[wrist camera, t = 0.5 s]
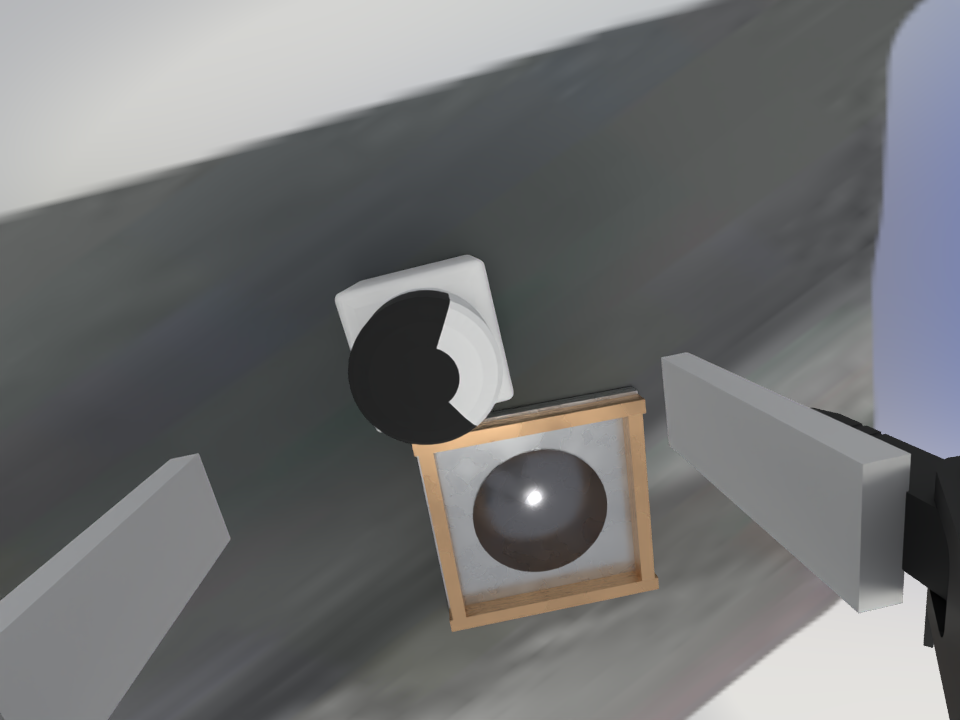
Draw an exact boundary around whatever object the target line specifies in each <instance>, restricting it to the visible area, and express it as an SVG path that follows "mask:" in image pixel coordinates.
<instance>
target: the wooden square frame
mask: <svg viewBox="0 0 960 720" xmlns="http://www.w3.org/2000/svg"><path fill="white" fill-rule="evenodd" d="M644 413H646V407H645V399H644V398H642V397H641V396H640V395H638V392H637V390H636V389H635V388H633V387H632V386H631V387H625V388H620V389H615V390H609V391H604V392H598V393H593V394H588V395H582V396H577V397H571V398H566V399H561V400H555V401H550V402H544V403H539V404H534V405H528V406H523V407H517V408H512V409H507V410H501V411H496V412H490V413H489V414H488V415H487V417H486V418H485V419H484V420H483V421H482V422H481V423H480V424H479V425H478V426H477V427H475V428H474V429H473V430H471V431H470V432H469V433H467V434H465V435H463V436H462V437H459V438H457V439H455V440H452V441H449V442H445V443H441V444H433V445H418V444H412V446H413V451H414V456H417V459H418V464H419V469H420V473H421V478H422V483H423V488H424V492H425V497H426V502H427V506H428V511H429V516H430V520H431V525H432V530H433V535H434V539H435V544H436V549H437V553H438V558H439V563H440V568H441V572H442V577H443V582H444V586H445V591H446V596H447V601H448V605H449V614H450V624H451V629H452V632H454V631H459V630H463V629H468V628H473V627H478V626H483V625H487V624H492V623H497V622H502V621H507V620H511V619H516V618H521V617H526V616H531V615H535V614H540V613H545V612H550V611H555V610H559V609H564V608H569V607H574V606H578V605H583V604H588V603H593V602H598V601H602V600H607V599H612V598H617V597H622V596H626V595H631V594H636V593H641V592H646V591H650V590H655V589H659V584H658V577H657V575H656V574H655V572H654V561H653V547H652V534H651V521H650V507H649V494H648V481H647V468H646V454H645V441H644V428H643V414H644Z"/></svg>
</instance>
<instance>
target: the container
mask: <svg viewBox="0 0 960 720" xmlns="http://www.w3.org/2000/svg"><path fill="white" fill-rule="evenodd" d="M335 303H336V306H337V310H338V313H339V316H340V319H341V322H342V325H343V328H344V331H345V335H346V338H347V341H348V344H349V347H350V350H351V353H350V357H349V366H348V376H349V384H350V389H351V392H352V395H353V398H354V400H355V402H356V404H357V406H358V408H359V409H360V411H361V412H362V414H363V415H364V416H365V418H366V419H367V420H368V421H369V422H370V423H371V424H372V425H373V426H375V428H376V429H377V431H379V432H383V433H385V434H386V435H388V436H390V437H392V438H394V439H397V440H399V441H403V442H406V443H410V444H418V445H433V444H441V443H445V442H449V441H452V440H455V439H457V438H459V437H462V436H463V435H465V434H467V433H469V432H470V431H471V430H473V429H474V428H475V427H477V426H478V425H479V424H480V423H481V422H482V421H483V420H484V419H485V418H486V417H487V415H488V414H489V413H490V411H491V410H492V408H493V406H494V404H495V403H498V402H502V401H506V400H509V399H511V398H512V396H513V387H512V382H511V378H510V374H509V369H508V365H507V361H506V356H505V352H504V347H503V343H502V339H501V334H500V330H499V326H498V321H497V317H496V313H495V308H494V304H493V300H492V295H491V291H490V287H489V282H488V278H487V274H486V269H485V265H484V263H483V261H481V260H480V259H478V258H475V257H473V256H471V255H462V256H458V257H454V258H450V259H446V260H442V261H438V262H434V263H430V264H426V265H422V266H418V267H414V268H410V269H406V270H402V271H398V272H394V273H390V274H386V275H382V276H378V277H374V278H370V279H365V280H361V281H359V282H358V283H356V284H354V285H352V286H351V287H349V288H347V289H345V290H344V291H342V292H340V293H338V294H337V295H336V297H335Z"/></svg>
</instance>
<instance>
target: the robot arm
mask: <svg viewBox="0 0 960 720" xmlns="http://www.w3.org/2000/svg"><path fill="white" fill-rule="evenodd" d="M661 361H662V372H663V383H664V394H665V406H666V417H667V428H668V440H669V446H671V447H672V448H673V449H674V450H675V451H676V452H677V453H678V454H680V455H681V456H682V457H683V458H684V459H685V460H686V461H687V462H689V463H690V464H691V465H692V466H693V467H694V468H695V469H697V470H698V471H699V472H700V473H701V474H702V475H703V476H704V477H706V478H707V479H708V480H709V481H710V482H711V483H712V484H713V485H715V486H716V487H717V488H718V489H719V490H720V491H721V492H722V493H724V494H725V495H726V496H727V497H728V498H729V499H730V500H731V501H733V502H734V503H735V504H736V505H737V506H738V507H739V508H740V509H742V510H743V511H744V512H745V513H746V514H747V515H748V516H750V517H751V518H752V519H753V520H754V521H755V522H756V523H757V524H759V525H760V526H761V527H762V528H763V529H764V530H765V531H766V532H768V533H769V534H770V535H771V536H772V537H773V538H774V539H775V540H777V541H778V542H779V543H780V544H781V545H782V546H783V547H784V548H786V549H787V550H788V551H789V552H790V553H791V554H792V555H793V556H795V557H796V558H797V559H798V560H799V561H800V562H801V563H803V564H804V565H805V566H806V567H807V568H808V569H809V570H810V571H812V572H813V573H814V574H815V575H816V576H817V577H818V578H819V579H821V580H822V581H823V582H824V583H825V584H826V585H827V586H828V587H830V588H831V589H832V590H833V591H834V592H835V593H836V594H837V595H839V596H840V597H841V598H842V599H843V600H844V601H845V602H847V603H848V604H849V605H850V606H851V607H852V608H854V610H856V611H857V612H858V613H862V612H866V611H871V610H875V609H879V608H883V607H888V606H892V605H896V604H901V603H902V602H903V584H904V571H905V572H906V573H908V574H909V575H911V576H912V577H913V578H915V579H916V580H918V581H920V582H921V583H922V584H923V585H925V586H926V587H928V590H927V604H926V618H925V633H924V646H928V647H931V648H933V645H934V647H935V651H936V656H937V661H938V665H939V671H940V675H941V680H942V685H943V690H944V694H945V699H946V704H947V709H948V713H949V718H950V720H960V456H956V457H950V458H946V459H945V460H944V459H942V458H940V457H938V456H935V455H933V454H931V453H928V452H926V451H924V450H921V449H919V448H917V447H915V446H912V445H910V444H908V443H905V442H903V441H901V440H898V439H896V438H894V437H892V436H889V435H887V434H883V435H882V434H881V432H880V431H878V430H875V429H873V428H871V427H869V426H863V425H862V423H859V422H857V421H855V420H852V419H850V418H848V417H846V416H843V415H841V414H838V413H833V412H829V411H825V410H820V409H816V408H809V407H807V406H804V405H802V404H800V403H798V402H796V401H793V400H791V399H789V398H787V397H785V396H782V395H780V394H778V393H776V392H774V391H771V390H769V389H767V388H765V387H763V386H760V385H758V384H756V383H754V382H752V381H749V380H747V379H745V378H743V377H740V376H738V375H736V374H734V373H732V372H729V371H727V370H725V369H723V368H721V367H718V366H716V365H714V364H712V363H710V362H707V361H705V360H703V359H701V358H699V357H696V356H694V355H692V354H690V353H688V352H686V353H681V354H676V355H672V356H667V357H662V358H661ZM230 539H231V538H230V536H229V533H228V530H227V528H226V525H225V522H224V520H223V517H222V514H221V512H220V509H219V506H218V504H217V501H216V498H215V496H214V493H213V490H212V488H211V485H210V482H209V480H208V477H207V474H206V472H205V469H204V466H203V464H202V461H201V458H200V455H199V453H197V454H193V455H188V456H183V457H178V458H173V459H170V460H169V461H168V462H166V463H165V464H164V465H163V466H162V467H160V468H159V469H158V470H157V471H156V472H154V473H153V474H152V475H151V476H150V477H148V478H147V479H146V480H145V481H144V482H142V483H141V484H140V485H139V486H138V487H136V488H135V489H134V490H133V491H132V492H130V493H129V494H128V495H127V496H126V497H124V498H123V499H122V500H121V501H120V502H118V503H117V504H116V505H115V506H114V507H112V508H111V509H110V510H109V511H108V512H106V513H105V514H104V515H103V516H102V517H100V518H99V519H98V520H97V521H96V522H94V523H93V524H92V525H91V526H90V527H88V528H87V529H86V530H85V531H83V532H82V533H81V534H80V535H79V536H77V537H76V538H75V539H74V540H73V541H71V542H70V543H69V544H68V545H67V546H65V547H64V548H63V549H62V550H61V551H59V552H58V553H57V554H56V555H55V556H53V557H52V558H51V559H50V560H49V561H47V562H46V563H45V564H44V565H43V566H41V567H40V568H39V569H38V570H37V571H35V572H34V573H33V574H32V575H31V576H29V577H28V578H27V579H26V580H25V581H23V582H22V583H21V584H20V585H19V586H17V587H16V588H15V589H14V590H13V591H11V592H10V593H9V594H8V595H7V596H5V597H4V598H3V599H2V600H1V601H0V720H108V718H109V717H110V715H111V714H112V712H113V711H114V710H115V708H116V707H117V705H118V704H119V702H120V701H121V699H122V698H123V696H124V695H125V693H126V692H127V690H128V689H129V688H130V686H131V685H132V683H133V682H134V680H135V679H136V677H137V676H138V674H139V673H140V671H141V670H142V668H143V667H144V666H145V664H146V663H147V661H148V660H149V658H150V657H151V655H152V654H153V652H154V651H155V649H156V648H157V646H158V645H159V644H160V642H161V641H162V639H163V638H164V636H165V635H166V633H167V632H168V630H169V629H170V627H171V626H172V624H173V623H174V622H175V620H176V619H177V617H178V616H179V614H180V613H181V611H182V610H183V608H184V607H185V605H186V604H187V602H188V601H189V600H190V598H191V597H192V595H193V594H194V592H195V591H196V589H197V588H198V586H199V585H200V583H201V582H202V580H203V579H204V578H205V576H206V575H207V573H208V572H209V570H210V569H211V567H212V566H213V564H214V563H215V561H216V560H217V558H218V557H219V556H220V554H221V553H222V551H223V550H224V548H225V547H226V545H227V544H228V542H229V541H230Z"/></svg>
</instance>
